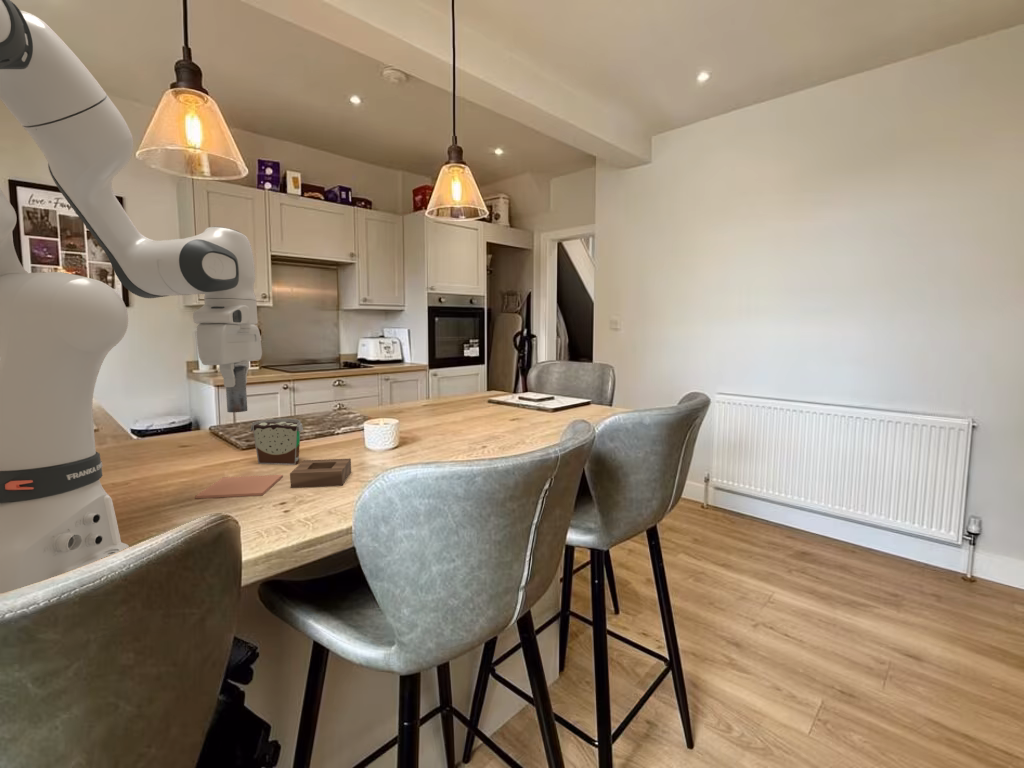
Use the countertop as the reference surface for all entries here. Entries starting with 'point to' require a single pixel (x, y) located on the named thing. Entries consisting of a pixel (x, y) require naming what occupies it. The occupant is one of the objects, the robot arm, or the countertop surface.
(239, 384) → the metal peg
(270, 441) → the food container
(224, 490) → the rubber mat
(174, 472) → the countertop surface
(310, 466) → the brown square peg hole
